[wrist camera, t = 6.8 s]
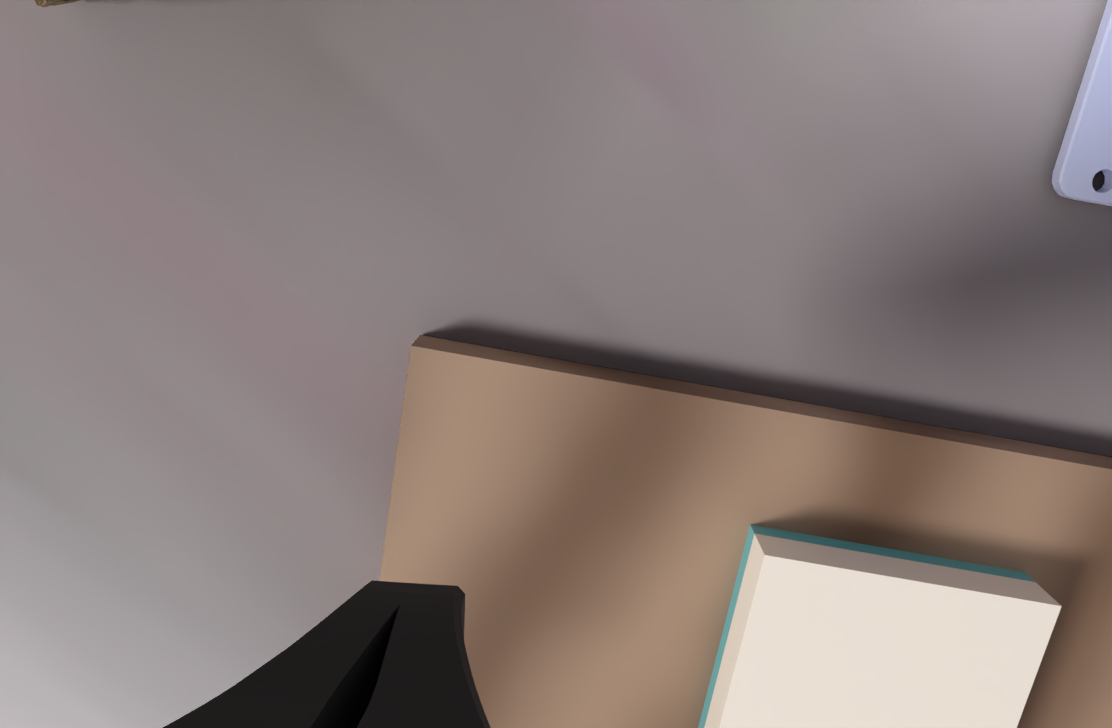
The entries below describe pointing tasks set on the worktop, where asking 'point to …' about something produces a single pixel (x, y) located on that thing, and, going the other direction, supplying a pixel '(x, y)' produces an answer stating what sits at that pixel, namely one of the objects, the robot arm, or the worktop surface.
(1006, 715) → the tile
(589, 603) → the board
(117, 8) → the worktop surface
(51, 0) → the rock
